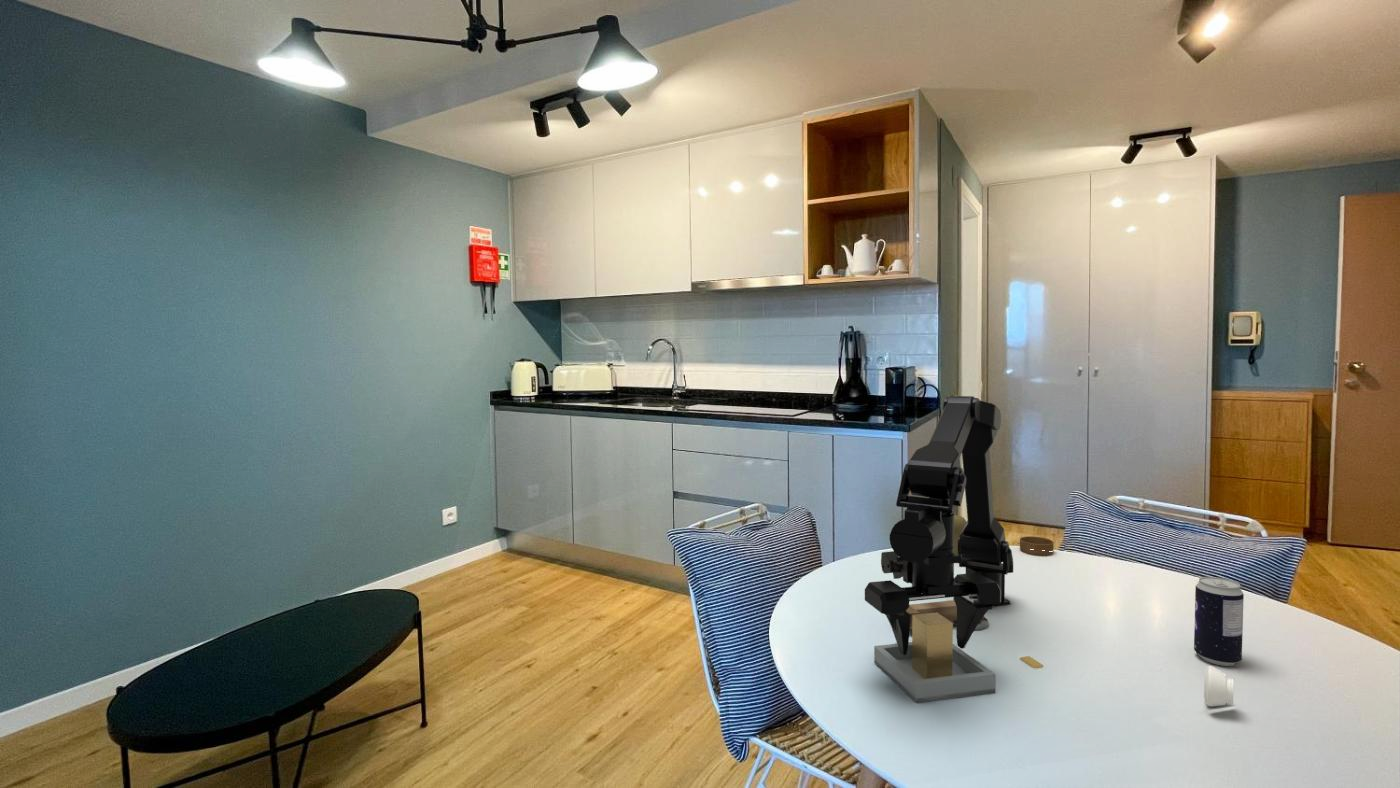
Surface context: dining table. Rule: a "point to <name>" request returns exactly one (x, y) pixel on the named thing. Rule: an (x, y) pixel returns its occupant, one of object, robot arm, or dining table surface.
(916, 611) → the crank
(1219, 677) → the white jar
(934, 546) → the robot arm
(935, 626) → the wooden block
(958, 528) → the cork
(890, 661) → the tray
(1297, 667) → the dining table surface
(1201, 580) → the beverage can
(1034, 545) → the brown round basket
